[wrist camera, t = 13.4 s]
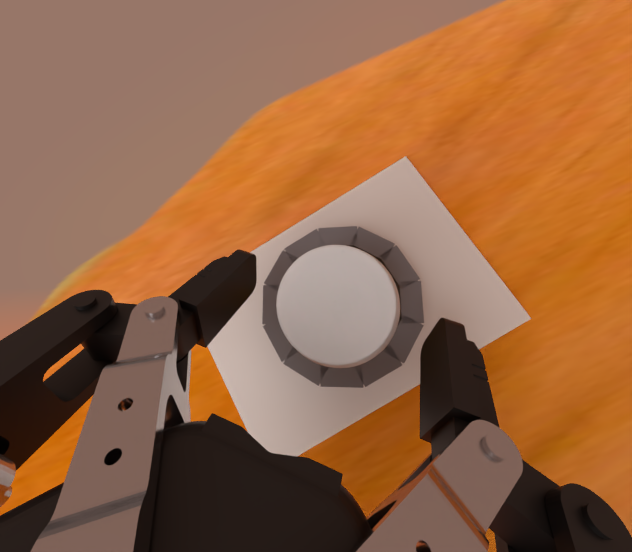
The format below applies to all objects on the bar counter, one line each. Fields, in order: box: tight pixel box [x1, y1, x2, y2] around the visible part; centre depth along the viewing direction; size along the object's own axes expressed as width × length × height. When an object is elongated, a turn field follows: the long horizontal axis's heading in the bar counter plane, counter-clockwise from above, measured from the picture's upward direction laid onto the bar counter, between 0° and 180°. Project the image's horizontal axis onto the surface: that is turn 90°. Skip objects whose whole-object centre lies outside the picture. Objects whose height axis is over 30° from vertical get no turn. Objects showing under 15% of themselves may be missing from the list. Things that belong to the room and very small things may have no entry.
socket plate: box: [208, 156, 531, 456], centre depth 17 cm, size 20×14×4 cm
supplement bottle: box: [276, 245, 400, 368], centre depth 13 cm, size 5×5×10 cm
